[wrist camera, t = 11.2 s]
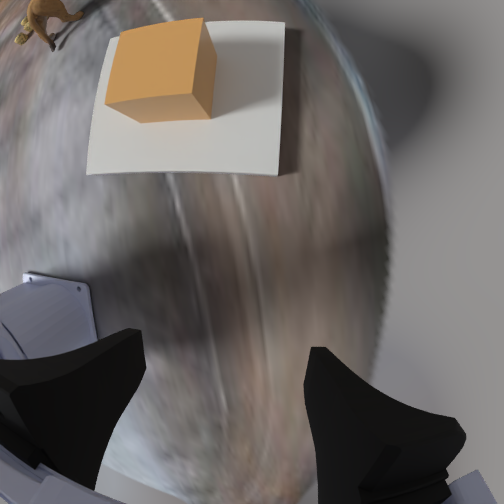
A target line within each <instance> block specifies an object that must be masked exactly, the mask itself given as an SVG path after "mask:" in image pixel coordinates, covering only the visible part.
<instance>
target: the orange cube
mask: <svg viewBox="0 0 504 504" xmlns="http://www.w3.org/2000/svg"><path fill="white" fill-rule="evenodd" d="M216 63H217V54H216V51H215V48H214V45H213V43H212V40H211V37H210V34H209V32H208V29H207V26H206V24H205V21H204V18H195V19H186V20H178V21H172V22H165V23H160V24H154V25H149V26H144V27H140V28H135V29H131V30H127V31H123V32H121V34H120V37H119V41H118V44H117V48H116V52H115V55H114V59H113V64H112V68H111V72H110V77H109V81H108V86H107V92H106V97H105V103H104V105H106V106H108V107H110V108H112V109H114V110H116V111H118V112H120V113H122V114H124V115H126V116H128V117H130V118H132V119H133V120H135V121H137V122H139V123H141V124H142V123H152V122H164V121H180V120H209V119H211V113H212V102H213V91H214V82H215V72H216Z"/></svg>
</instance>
